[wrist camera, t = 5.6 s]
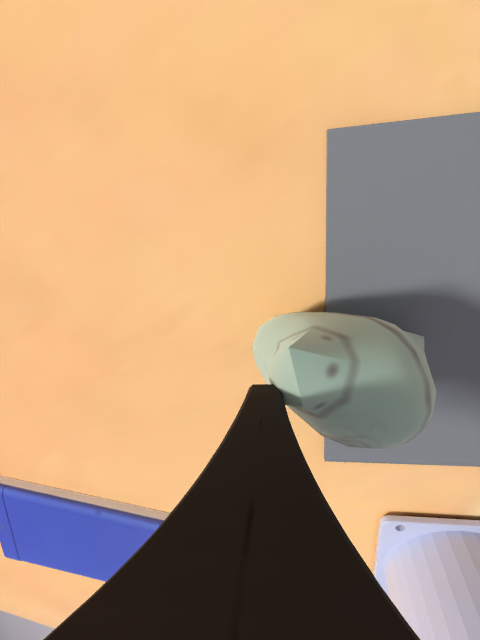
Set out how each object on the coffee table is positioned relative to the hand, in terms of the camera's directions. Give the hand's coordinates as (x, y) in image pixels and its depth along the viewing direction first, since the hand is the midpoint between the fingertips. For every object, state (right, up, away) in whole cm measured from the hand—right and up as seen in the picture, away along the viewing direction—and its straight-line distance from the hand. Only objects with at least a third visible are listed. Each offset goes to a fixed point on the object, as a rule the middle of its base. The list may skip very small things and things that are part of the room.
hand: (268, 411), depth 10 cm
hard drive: (-11, -12, +15) cm, 22 cm away
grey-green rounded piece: (0, +2, +5) cm, 5 cm away
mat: (+7, +2, +4) cm, 9 cm away
